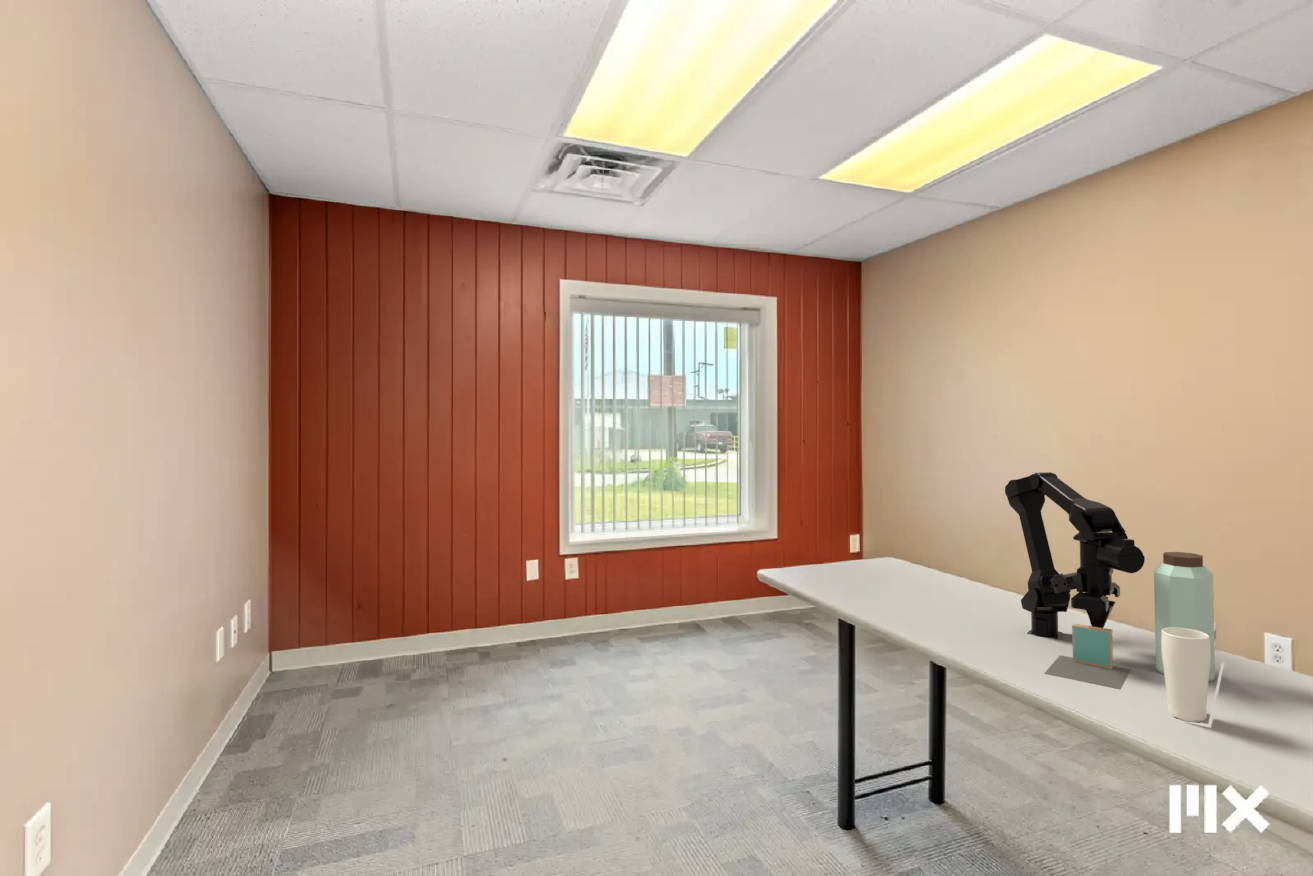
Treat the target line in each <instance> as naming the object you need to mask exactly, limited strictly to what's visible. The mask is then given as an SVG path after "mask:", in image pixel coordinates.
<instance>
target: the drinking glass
mask: <svg viewBox="0 0 1313 876" xmlns="http://www.w3.org/2000/svg"><path fill="white" fill-rule="evenodd" d="M1161 652H1162V661H1163V669H1164V674H1163V676H1164V685H1165V691H1166V700H1167V701H1166V702H1167V706H1166V708H1167V712H1168V713H1169V714H1170V715H1172V717H1173V718H1175V719H1177V720H1181V721H1182V722H1183V721H1184V722H1188V723H1198V722H1201V721H1205V720H1207V714H1208V713H1207V705H1208V693H1209V692H1208V691H1209V682H1210V681H1209V673H1210V660H1211V650H1210V637H1209V635H1207V634H1206V633H1203V632H1200V631H1197V630H1192V629H1186V628H1175V627H1170V628H1164V629H1162V631H1161Z"/></svg>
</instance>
